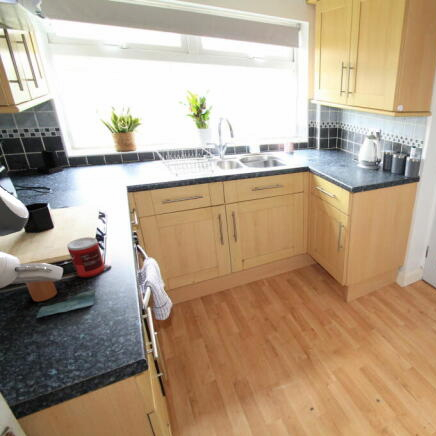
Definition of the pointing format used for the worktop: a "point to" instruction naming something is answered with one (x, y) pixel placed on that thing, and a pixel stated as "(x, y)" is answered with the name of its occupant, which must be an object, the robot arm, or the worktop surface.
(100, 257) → the canned food
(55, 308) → the terrain model
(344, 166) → the worktop surface
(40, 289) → the terracotta pot
